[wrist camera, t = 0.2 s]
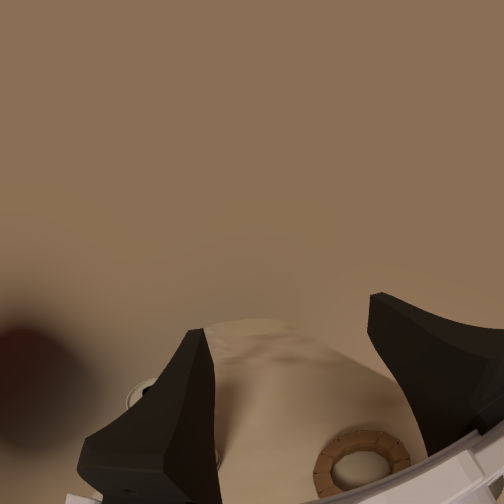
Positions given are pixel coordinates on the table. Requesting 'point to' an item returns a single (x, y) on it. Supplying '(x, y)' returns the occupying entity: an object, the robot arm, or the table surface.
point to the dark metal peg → (497, 487)
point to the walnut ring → (354, 443)
